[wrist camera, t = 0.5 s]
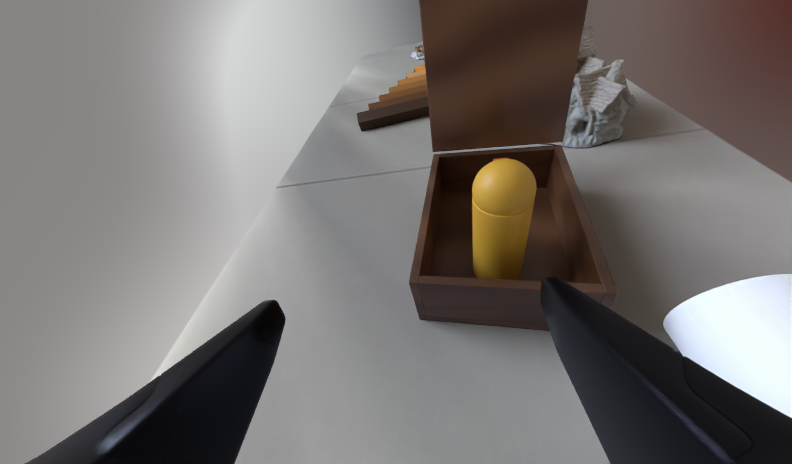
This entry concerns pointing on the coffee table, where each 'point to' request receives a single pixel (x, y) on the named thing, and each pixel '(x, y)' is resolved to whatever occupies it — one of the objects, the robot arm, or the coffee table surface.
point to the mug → (741, 336)
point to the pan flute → (399, 102)
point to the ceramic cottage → (596, 99)
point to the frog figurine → (418, 53)
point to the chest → (544, 255)
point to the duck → (501, 218)
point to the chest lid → (499, 70)
